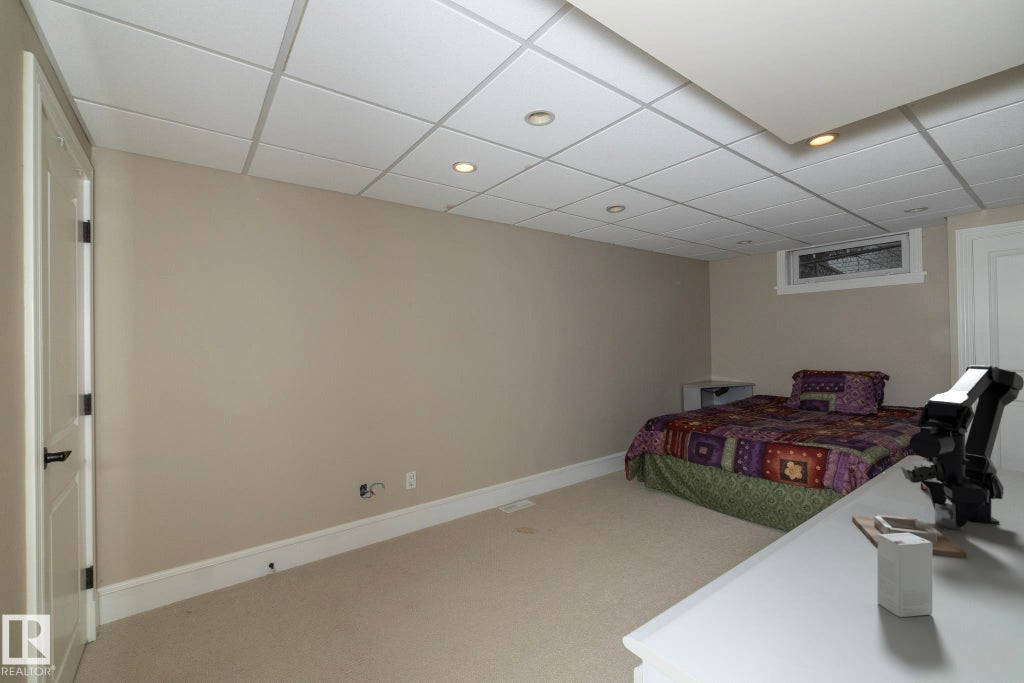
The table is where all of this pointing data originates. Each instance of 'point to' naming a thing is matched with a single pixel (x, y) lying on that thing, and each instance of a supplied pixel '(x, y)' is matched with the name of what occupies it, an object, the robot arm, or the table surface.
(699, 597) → the table surface
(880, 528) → the wooden board with frame
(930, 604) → the skincare box
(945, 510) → the cylinder
